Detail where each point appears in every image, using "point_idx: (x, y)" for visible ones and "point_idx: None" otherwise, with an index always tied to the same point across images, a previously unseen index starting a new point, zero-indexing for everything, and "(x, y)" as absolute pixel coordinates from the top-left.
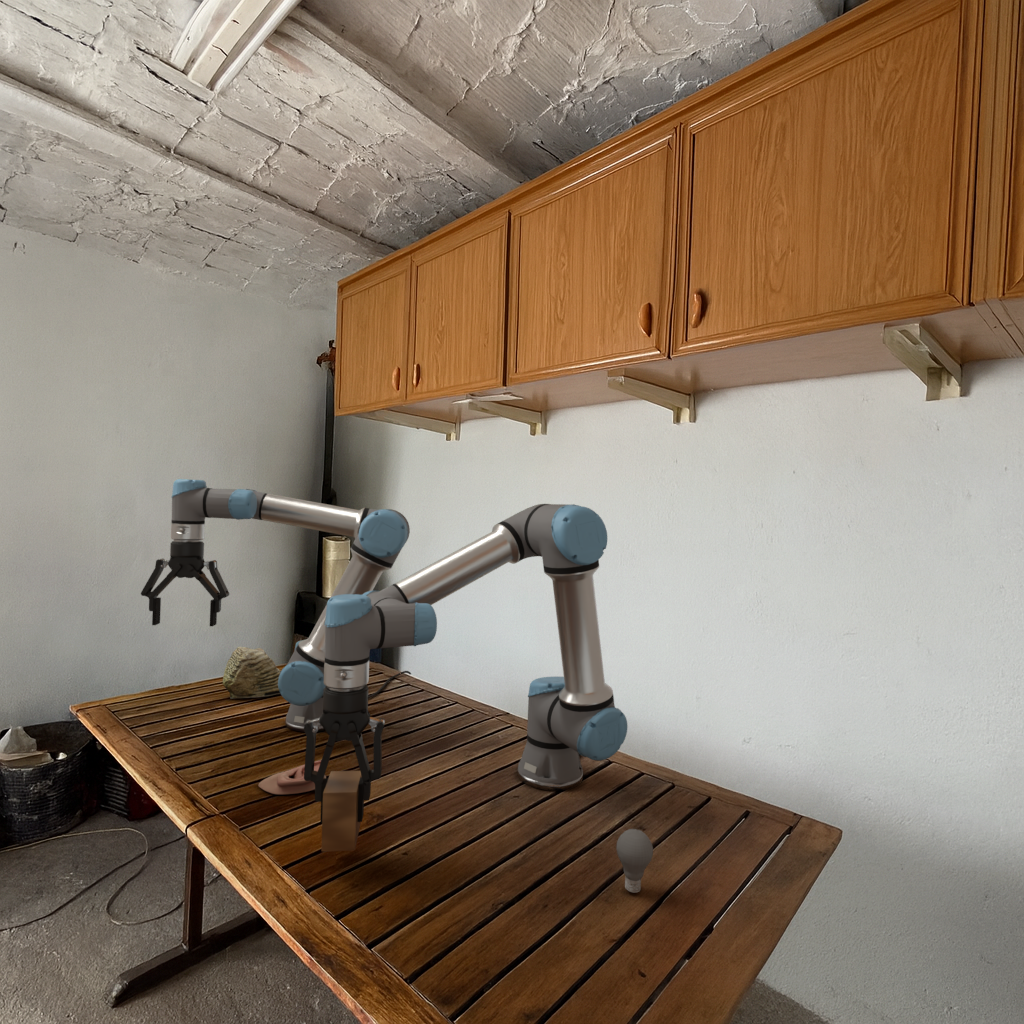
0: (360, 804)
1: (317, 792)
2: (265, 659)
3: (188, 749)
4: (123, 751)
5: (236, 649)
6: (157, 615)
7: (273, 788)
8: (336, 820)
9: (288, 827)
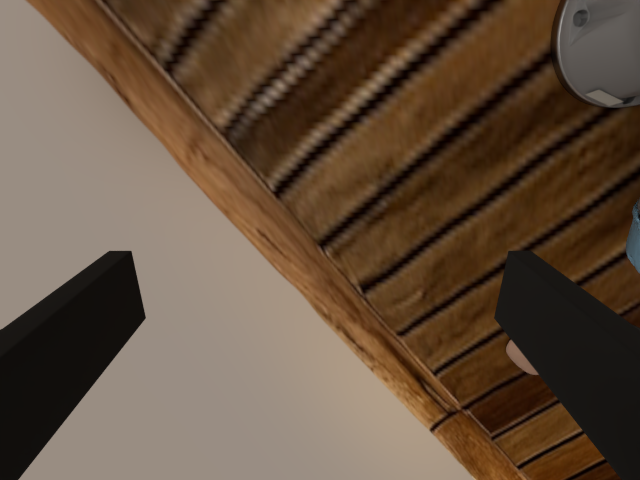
0: None
1: None
2: None
3: (352, 204)
4: (231, 212)
5: None
6: (105, 332)
7: (531, 371)
8: None
9: (547, 437)
